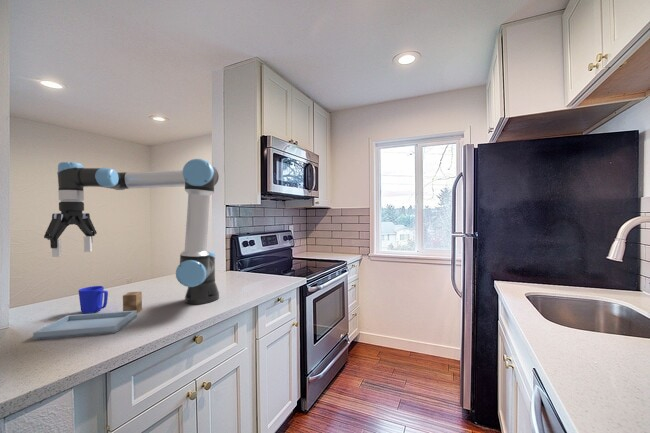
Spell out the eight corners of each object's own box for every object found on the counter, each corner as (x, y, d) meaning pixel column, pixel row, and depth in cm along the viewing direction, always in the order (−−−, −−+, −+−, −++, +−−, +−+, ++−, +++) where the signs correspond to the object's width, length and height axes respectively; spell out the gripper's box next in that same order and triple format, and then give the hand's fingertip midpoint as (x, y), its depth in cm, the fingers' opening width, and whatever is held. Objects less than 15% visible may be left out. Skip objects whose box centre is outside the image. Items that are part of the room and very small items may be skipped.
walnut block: (142, 309, 121) (141, 291, 121) (136, 313, 116) (136, 294, 116) (129, 310, 120) (128, 292, 120) (123, 314, 115) (122, 295, 115)
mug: (97, 316, 113) (96, 291, 113) (73, 314, 116) (73, 290, 116) (116, 309, 121) (115, 286, 121) (93, 307, 124) (93, 285, 124)
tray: (136, 316, 113) (136, 310, 113) (115, 333, 97) (115, 326, 97) (67, 321, 108) (67, 315, 108) (33, 340, 92) (33, 332, 92)
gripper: (89, 202, 125) (90, 249, 125) (28, 200, 100) (30, 259, 100) (105, 202, 124) (107, 249, 125) (49, 199, 99) (51, 259, 100)
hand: (73, 254), depth 112 cm, fingers open, 13 cm apart
